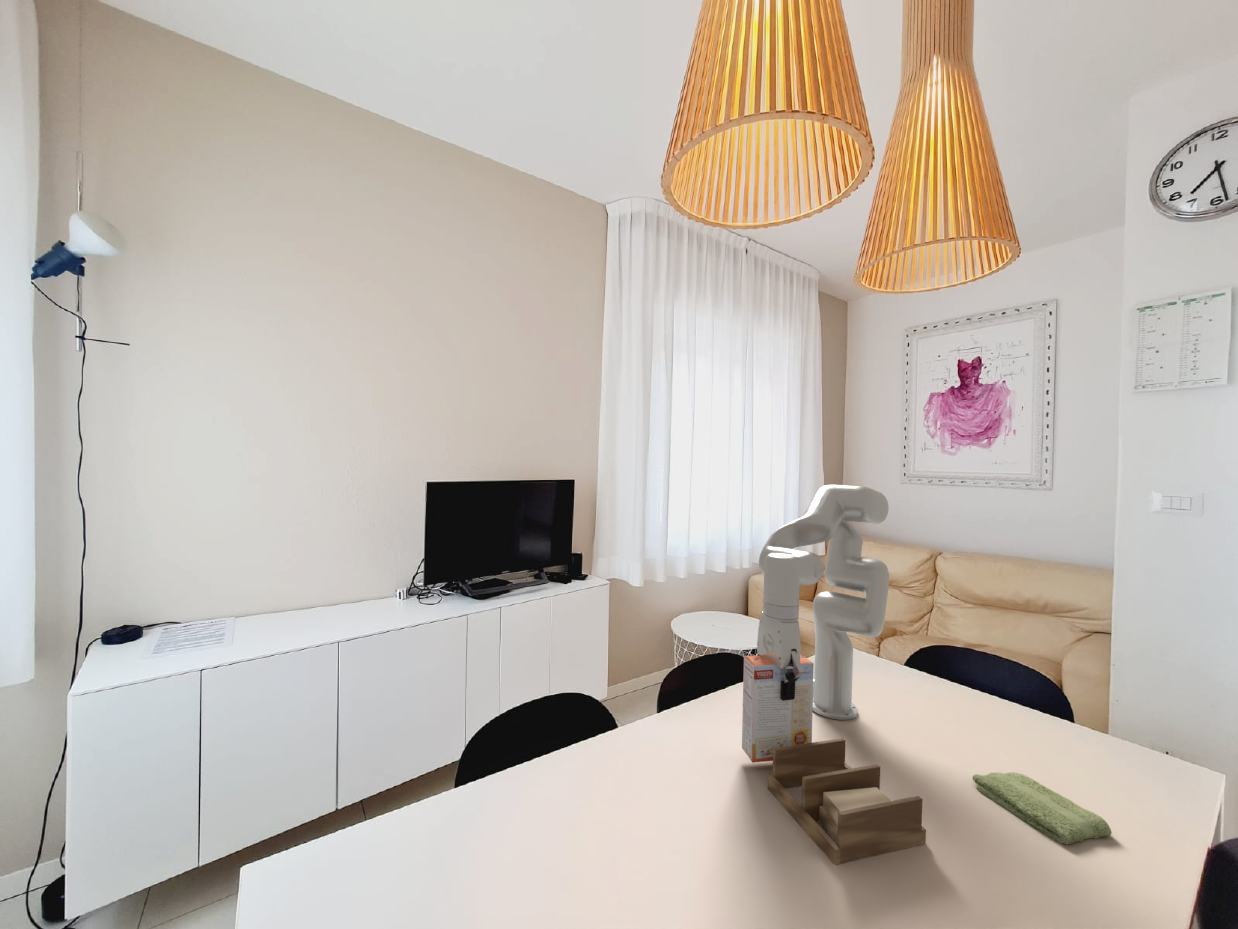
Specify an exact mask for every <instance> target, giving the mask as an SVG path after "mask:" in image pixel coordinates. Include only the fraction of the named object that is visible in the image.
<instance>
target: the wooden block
mask: <svg viewBox="0 0 1238 929" xmlns="http://www.w3.org/2000/svg"><path fill="white" fill-rule="evenodd" d="M889 801H892V800H891V799H890V798H889V797H888V796H887V795H886V794H884V792H882V791H881V790H879V789H878V788H877V787H873V788H862V789H852V790H842V791H832V792H823V806H819V820H818V822H819V823H820V825H821V826H822V829H823V830H824V831H825V832H826V833H827V835H828V836H829V837H830V838H831V839H832V840H833V841H834V842H835V843H836V844H837V830H838V812H839V811H844V810H849V809H854V808H859V807H864V806H869V805H874V804H879V803H884V802H889Z"/></svg>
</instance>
